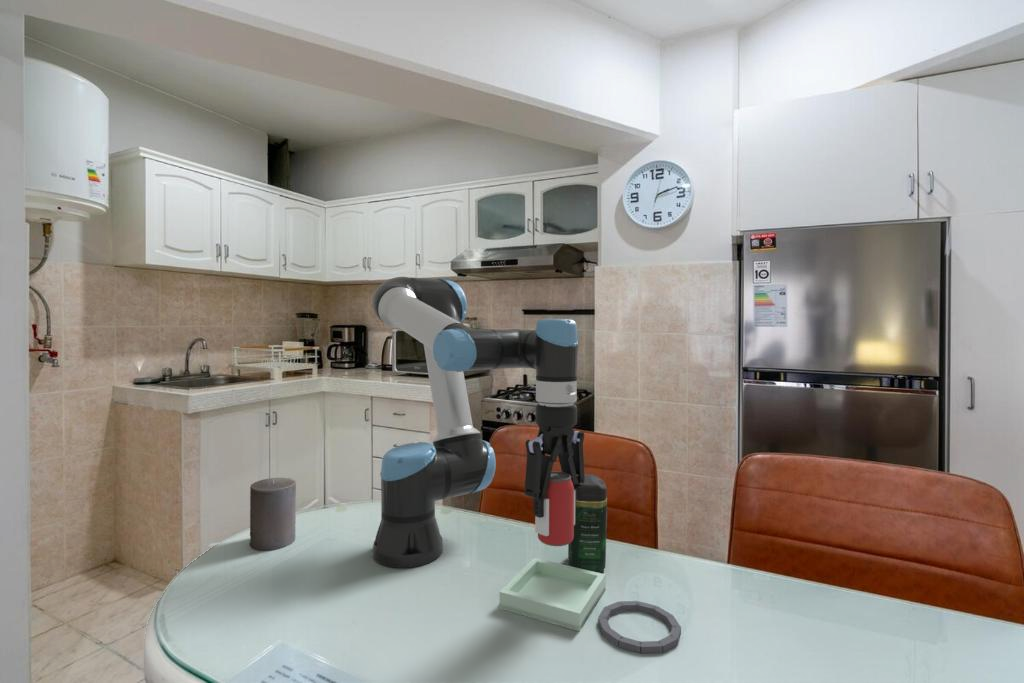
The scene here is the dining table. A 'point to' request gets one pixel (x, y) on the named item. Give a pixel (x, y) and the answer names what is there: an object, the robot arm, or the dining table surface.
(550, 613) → the bin
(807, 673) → the dining table surface
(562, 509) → the beer can
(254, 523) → the pillar candle
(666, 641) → the socket ring
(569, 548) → the coffee jar
